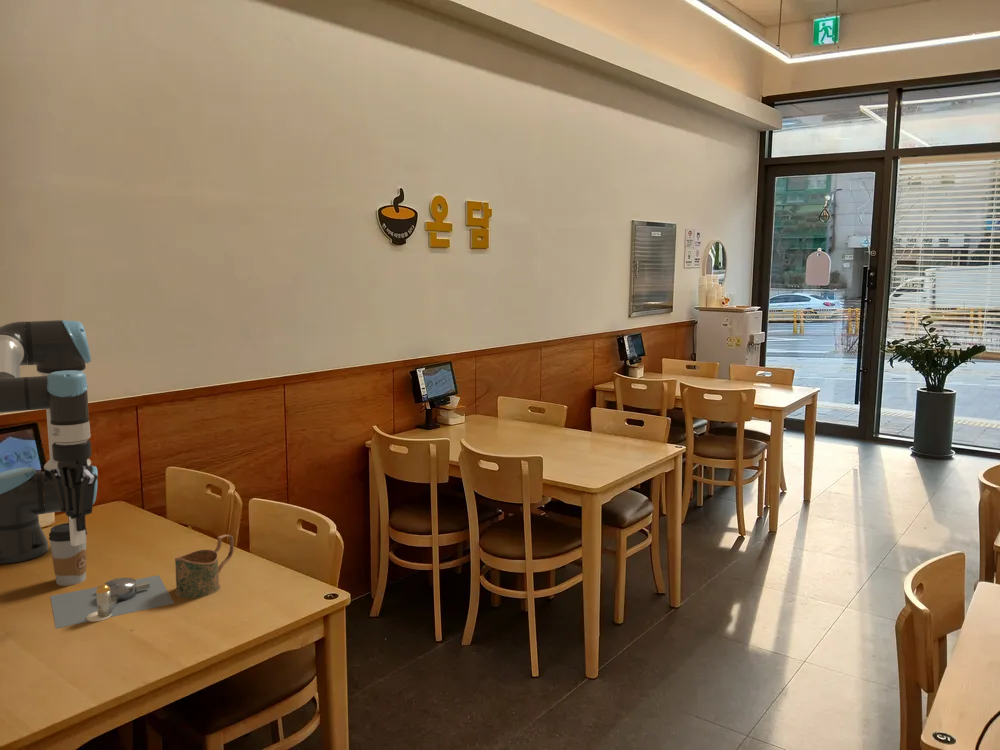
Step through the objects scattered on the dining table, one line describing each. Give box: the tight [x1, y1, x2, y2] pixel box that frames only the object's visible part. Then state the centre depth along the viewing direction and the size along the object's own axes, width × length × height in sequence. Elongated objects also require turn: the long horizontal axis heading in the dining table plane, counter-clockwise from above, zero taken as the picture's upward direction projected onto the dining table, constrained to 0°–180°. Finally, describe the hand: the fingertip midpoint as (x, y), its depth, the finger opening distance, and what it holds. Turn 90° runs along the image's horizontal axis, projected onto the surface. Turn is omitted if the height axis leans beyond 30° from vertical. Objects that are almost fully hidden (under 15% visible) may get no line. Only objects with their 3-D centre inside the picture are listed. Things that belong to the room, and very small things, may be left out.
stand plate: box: [49, 574, 175, 629], centre depth 182 cm, size 21×24×2 cm
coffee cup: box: [48, 522, 88, 587], centre depth 193 cm, size 8×8×15 cm
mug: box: [174, 534, 235, 599], centre depth 191 cm, size 12×18×12 cm, turn 155°
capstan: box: [96, 577, 150, 617], centre depth 180 cm, size 16×12×7 cm
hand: (78, 543), depth 174 cm, fingers closed
